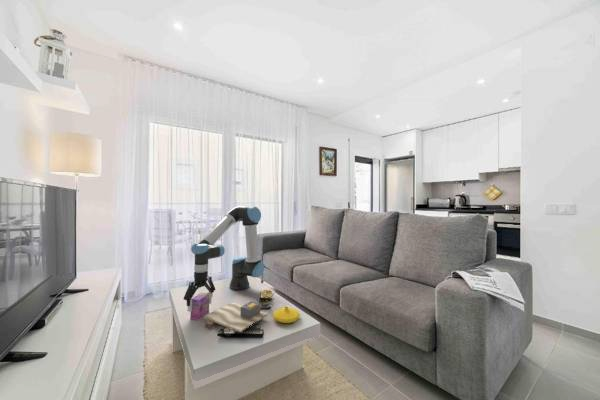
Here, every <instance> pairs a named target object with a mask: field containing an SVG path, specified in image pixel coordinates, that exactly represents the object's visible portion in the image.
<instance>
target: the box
mask: <svg viewBox="0 0 600 400" xmlns="http://www.w3.org/2000/svg"><path fill="white" fill-rule="evenodd" d="M209 296H210V293H208V292H199V293H198V294H196V295H195V296H193V297H192V298H191V300H192V312H190V314H189V315H190V320H191V321H192V320H194V321H200V320H201V319H203V318H204V316H205V315H207V314H209V312H210V304H209Z"/></svg>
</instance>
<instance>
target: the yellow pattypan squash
mask: <svg viewBox="0 0 600 400" xmlns="http://www.w3.org/2000/svg"><path fill="white" fill-rule="evenodd" d="M300 316H301V313H300V312H299V311H298V310H297V309H295V308H293V307H289V306H285V307H280V308H277V309H276V310H275V311H274V312H273V313H272V317H273V319H274V320H275V321H276V322H278V323H282V324H291V323H294V322H296V321H298V320H299V319H300Z"/></svg>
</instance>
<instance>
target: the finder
mask: <svg viewBox="0 0 600 400" xmlns="http://www.w3.org/2000/svg"><path fill="white" fill-rule="evenodd" d="M260 311H261V303H258V302H254V301H249V302H247V303H245V304H244V305H243V306H242V307H241V312H240V316H242V317H246V318H249V319H251V318H252V317H254V316H256V315H257V314H259V313H260Z"/></svg>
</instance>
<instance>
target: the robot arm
mask: <svg viewBox="0 0 600 400" xmlns="http://www.w3.org/2000/svg"><path fill="white" fill-rule="evenodd" d="M261 219H262V213H261V210H260V209H259V208H258V207H257V206H255V205H254V206H253V205H239V206H236V207H234V208H232V209H231V210H229V211H228V212H227V213H225V215H224V217H223V219H222V220H221V221H220V222H219V223H218V224H216V225H215V227H214V228H213V229H211V230H210V232H208V233H207V234H206V235H205V236H204V238H202V239H201V241H199V242H195V243H193V244H192V245H191V249H190V250H191V251H190V252H192V254H193V255H194V269H193V270H194V272H193V278H194V281H189V282H188V287H187V289H186V292H185V293H184V296H183V300H184V301H186V306H187V310H186V311H187V312H189V313H191V312H192V300H191V299H192V298H194V295H195V293H196V292H197V290H199V288H203V287H205V289H206V290H207V293H210V296H209V305H211V304H212V300H213V299H212V298H213V294H214V292H215V291H216V287H215V284H214V282H213V277H212V276H209V275H208V274H209V271H208V270H209V260H212V259H216V258H220V257H222V256H223V255H224V254H225V251H226V250H225V249H226V248H225V247H224V245H222V244H216V242H218V240H219V239H221V237H222V236H224V234H225V233H226V232H227V231H228V230H229V229H230V228H231V226H234V225H236V223H238V222H241V224H242V227H244V233H245V246H246V256H238V257H235V258H233V259H232V264H231V268H232V269H231V270H232V271H231V272H232V273H231V274H232V275H231V280H230V283H229V289H230V290H234V291H242V290H244V291H245V290H246V289H249V288H250V282H249V278H248V277H252V278H259V277H261V276H262V275H263V273H264V271H265V267H266V266H265V263H264V262H263V261H262V258H261V257H260V256H259V242H258V241H259V239H258V231H257V229H258V227H257V226H258V225H259V222H260V221H261ZM215 244H216V245H215Z"/></svg>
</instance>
